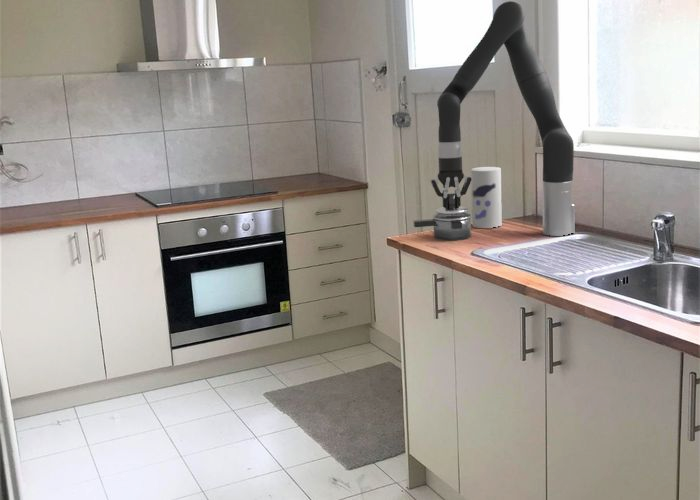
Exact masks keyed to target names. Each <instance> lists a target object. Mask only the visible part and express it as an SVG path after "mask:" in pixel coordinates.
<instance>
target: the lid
mask: <svg viewBox="0 0 700 500" xmlns="http://www.w3.org/2000/svg"><path fill="white" fill-rule="evenodd" d="M447 198H448V209H445V208H444V207H443V206H442V207H441V206H440V207H438V208H435V213H436V214H445V215H453V214H462V213H468V212H469V207H466V206H462V205H460V207H459V208H458V209H456V194H455V192H452V193H451V192H450V193H447Z"/></svg>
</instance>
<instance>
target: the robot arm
mask: <svg viewBox="0 0 700 500" xmlns="http://www.w3.org/2000/svg"><path fill="white" fill-rule="evenodd" d="M492 16H493V17H492V20H491V22H490V24H489V26H488V28H487V30H486V31H485V33H484V35H483V36H482V38H481V39H480V41H479V42H478V43H477V45H476V46H475V48H473V50H472V51H471V53H469V55H468V56H467V58H466V59H465V60H464V62H463V63H462V65H461V66H460V67H459V69H458V71H456V74H455V75H454V76H453V78H452V80H451V81H450V83H449V84H448V85H447V86H446V87H445V88H444V90H443V91H442V93H441V94H440V96H438V99H437V102H436V104H437V109H438V110H437V111H438V123H439V125H438V147H437V153H438V173H437V176H436V177H434V178H430V180H429V182H430V184H431V186H432V188H433V190H434V192H435V194H436V195H437V197H439V198H442V207H444V208H445V209H448V198H447V194H449V193H448V192H449V188H453V189H454V190H453V191H454V193H455V194H456V209H458V208H459V207H460V206H462V205H461V197H462V196H464V195H466V194H467V192H468V189H469V186H470V184H471V183H472V182H471V180H472V178H471V177H470V176H467V175H465V174H464V172H463V149H462V141H461V139H462V138H461V137H462V136H461V133H462V132H461V105H462V102H463V101H464V100H465V98H466V97H467V95H468V94H469V92H471V91H472V90H473V89H474V88H475V87H476V85H477V83H478V82H479V81H480V79H481V78H482V76H483V75H484V73H485V72H486V70H487V68H488V67H489V66H490V64H491V62H492V60H494V58H495V56H496V54H497V53H498V51H499V50H501V48H502V46H503V45H504V47H505V49H506V52H507V54H508V56H509V61H510V65H511V67H512V68H511V69H512V72H513V75H514V77H515V80H516V81H515V82H516V83H517V86H518V89H519V91H520V93H521V96H522V98H523V100H524V103H525V104H526V106H527V108H528V110H529V111H530V112H531V115H532V117H533V118H534V120H535V123H536V125H537V129H538V132H539V135H540V140H541V145H542V234H543V235H546V236H549V235H550V236H551V237H564V236H563V235H565V236H569V235H568V234H570V235H572V234H571V233H575V231H576V230H575V223H576V222H575V221H576V220H575V217H576V216H575V215H576V212H575V209H576V206H575V204H574V203H573V202H574V201H573V199H574V198H573V196H574V195H573V192H574V191H573V190H574V189H573V185H574V184H573V179H574V178H573V177H574V159H575V158H574V152H575V148H574V144H575V143H574V140H573V138H572V136H571V135H570V133H569V132H568V130H567V129H566V128H567V127H566V126H565V124H564V123H563V121H562V119H561V116H560V114H559V112H558V109H557V104H556V99H555V96H554V92H553V91H554V90H553V87H552V84H551V82H550V78H549V76H548V73H547V72H546V68H545V67H544V64H543V63H542V61H541V59H540V57H539V55H538V54H537V52H536V51H535V50H534V48H533V46H532V44H531V41H530V40H529V37H528V34H527V31H526V27H525V23H524V21H525V11H524V9H523V7H522V5H521V4H520V3H518V2H516V1H505V2H503V3H501V4H500V5H499V6H497V8H496V9H495V10H494V12H493V15H492ZM462 180H463V185H462V187H460V184H461V182H462ZM439 182H440V183H441V185H442V191H441V190H440V188H439V186H438V184H439ZM460 189H461V190H460ZM550 236H549V237H550Z"/></svg>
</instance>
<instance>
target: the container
mask: <svg viewBox="0 0 700 500" xmlns="http://www.w3.org/2000/svg"><path fill="white" fill-rule="evenodd" d="M470 172H471V173H470V176H471V178H472V180H471V182H470V183H471V220H472V221H471V222H472V223H471V224H472V227H473V228H477V229H478V228H479V229H494V228H493V227H496V228H499V227H498V226H500V227H501V226H502V223H503V222H502V220H503V218H502V168H501V167H498V166H481V167H474V168H473V167H472V168H471V170H470Z"/></svg>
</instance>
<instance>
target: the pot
mask: <svg viewBox="0 0 700 500" xmlns="http://www.w3.org/2000/svg"><path fill="white" fill-rule="evenodd" d="M471 219H472V213H468V212H466V213H462V214H453V215H445V214H438V213H436V214H433V215H432V218H431V219H417V220H414V219H413V227H414V228H424V227H425V228H426V227H433V238H434V239H435V240H438V241H444V242H445V241H446V242H447V241H449V242H452V241H462V240H467V239H470V238H471V235H472V232H471V228H472V227H471Z"/></svg>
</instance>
